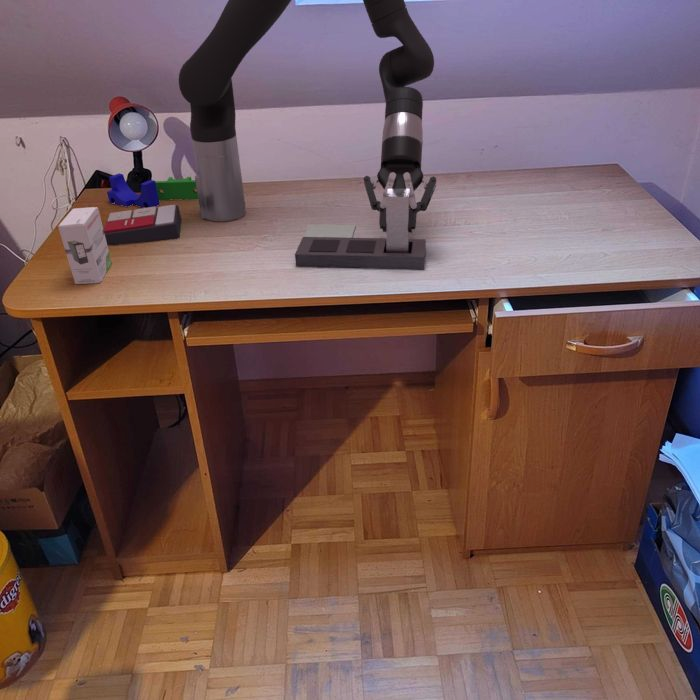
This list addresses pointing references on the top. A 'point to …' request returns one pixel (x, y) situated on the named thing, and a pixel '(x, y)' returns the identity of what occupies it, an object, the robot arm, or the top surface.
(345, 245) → the dark grey slotted tray
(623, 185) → the top surface
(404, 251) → the steel plug
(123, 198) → the cable clip
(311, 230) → the mat
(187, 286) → the top surface
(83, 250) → the ink box
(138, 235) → the red grey box
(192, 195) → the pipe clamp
